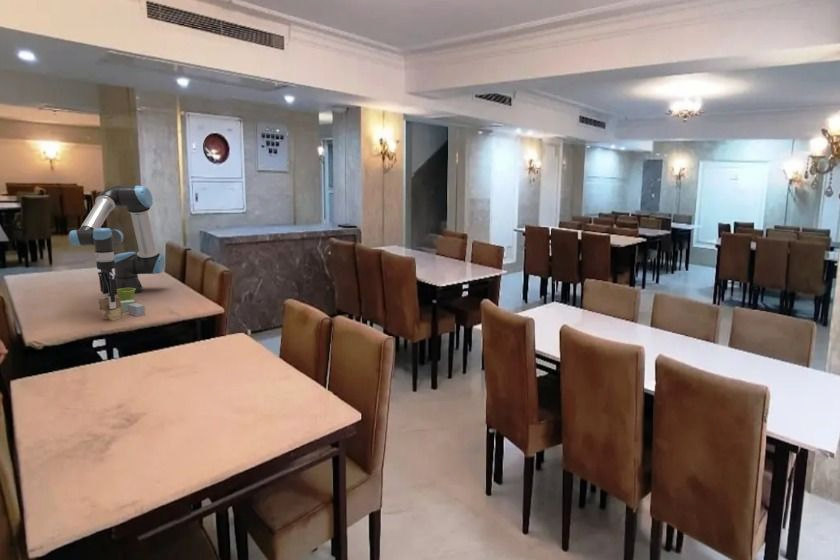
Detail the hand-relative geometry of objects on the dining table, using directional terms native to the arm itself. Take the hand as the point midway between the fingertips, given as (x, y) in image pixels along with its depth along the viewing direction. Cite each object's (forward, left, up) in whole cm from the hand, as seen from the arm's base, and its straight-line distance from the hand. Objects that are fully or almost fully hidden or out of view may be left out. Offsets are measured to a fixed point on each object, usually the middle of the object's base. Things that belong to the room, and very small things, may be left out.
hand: (110, 307), depth 248 cm
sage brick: (-9, +11, -6) cm, 16 cm away
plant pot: (-19, +16, -6) cm, 26 cm away
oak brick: (0, 0, -6) cm, 6 cm away
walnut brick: (0, 0, 0) cm, 0 cm away
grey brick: (+2, +11, -6) cm, 13 cm away
